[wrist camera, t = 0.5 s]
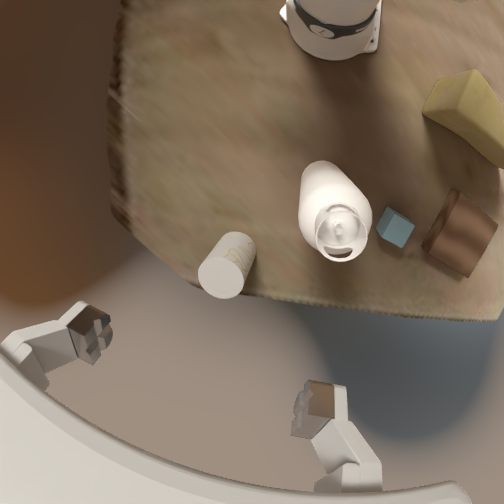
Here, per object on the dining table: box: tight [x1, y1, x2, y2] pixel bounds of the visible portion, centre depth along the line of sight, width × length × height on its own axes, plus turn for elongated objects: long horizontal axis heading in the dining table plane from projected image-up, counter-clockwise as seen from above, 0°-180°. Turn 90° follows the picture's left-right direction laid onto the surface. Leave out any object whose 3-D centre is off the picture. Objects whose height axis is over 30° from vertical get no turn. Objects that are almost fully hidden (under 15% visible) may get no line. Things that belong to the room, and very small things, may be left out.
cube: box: [376, 206, 415, 248], centre depth 46 cm, size 5×5×5 cm
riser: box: [421, 189, 498, 278], centre depth 44 cm, size 14×14×4 cm
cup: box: [198, 232, 256, 299], centre depth 52 cm, size 8×8×12 cm
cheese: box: [422, 70, 504, 169], centre depth 30 cm, size 22×10×15 cm, turn 63°
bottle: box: [298, 161, 372, 262], centre depth 36 cm, size 8×8×28 cm
